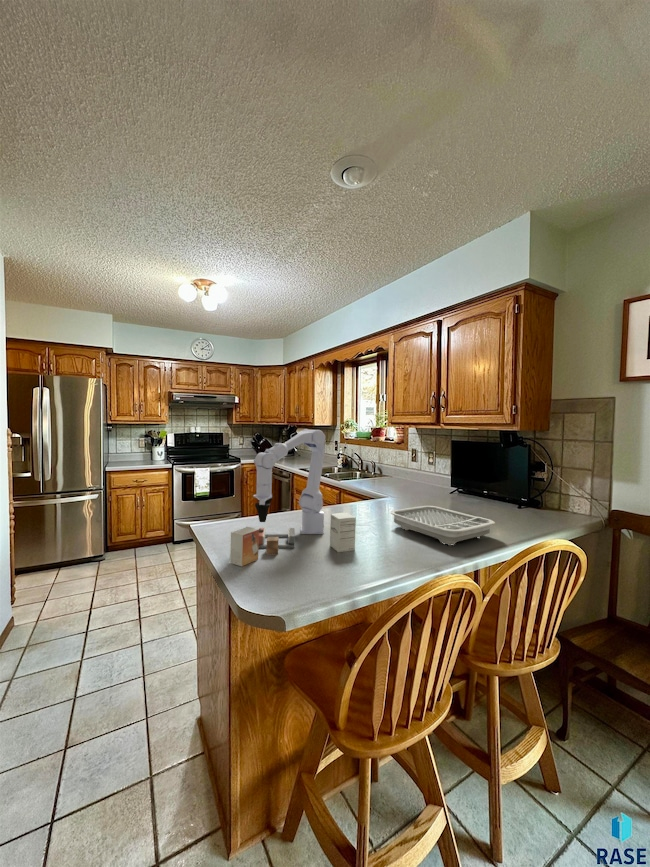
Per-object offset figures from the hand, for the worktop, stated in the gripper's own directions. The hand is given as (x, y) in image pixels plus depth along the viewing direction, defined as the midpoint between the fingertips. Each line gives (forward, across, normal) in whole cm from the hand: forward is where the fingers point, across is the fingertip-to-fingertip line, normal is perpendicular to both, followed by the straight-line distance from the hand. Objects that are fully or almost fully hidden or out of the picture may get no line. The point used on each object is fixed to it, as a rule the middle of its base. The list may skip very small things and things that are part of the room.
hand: (263, 519), depth 135 cm
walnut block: (+10, +9, +4) cm, 14 cm away
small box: (+10, +17, -5) cm, 20 cm away
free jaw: (+10, -2, -1) cm, 10 cm away
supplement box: (+10, +5, +30) cm, 32 cm away
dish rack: (+10, -13, +76) cm, 78 cm away
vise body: (+10, -2, +4) cm, 10 cm away
